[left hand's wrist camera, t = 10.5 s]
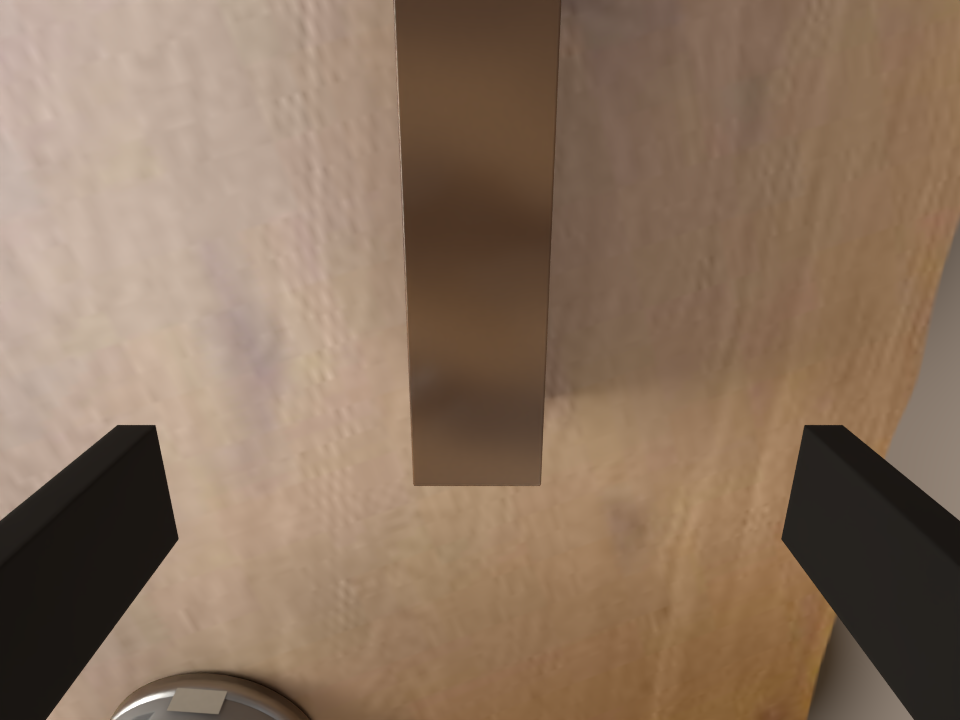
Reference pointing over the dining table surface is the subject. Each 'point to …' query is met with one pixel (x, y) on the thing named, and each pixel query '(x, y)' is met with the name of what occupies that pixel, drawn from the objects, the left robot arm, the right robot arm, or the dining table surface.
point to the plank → (477, 231)
